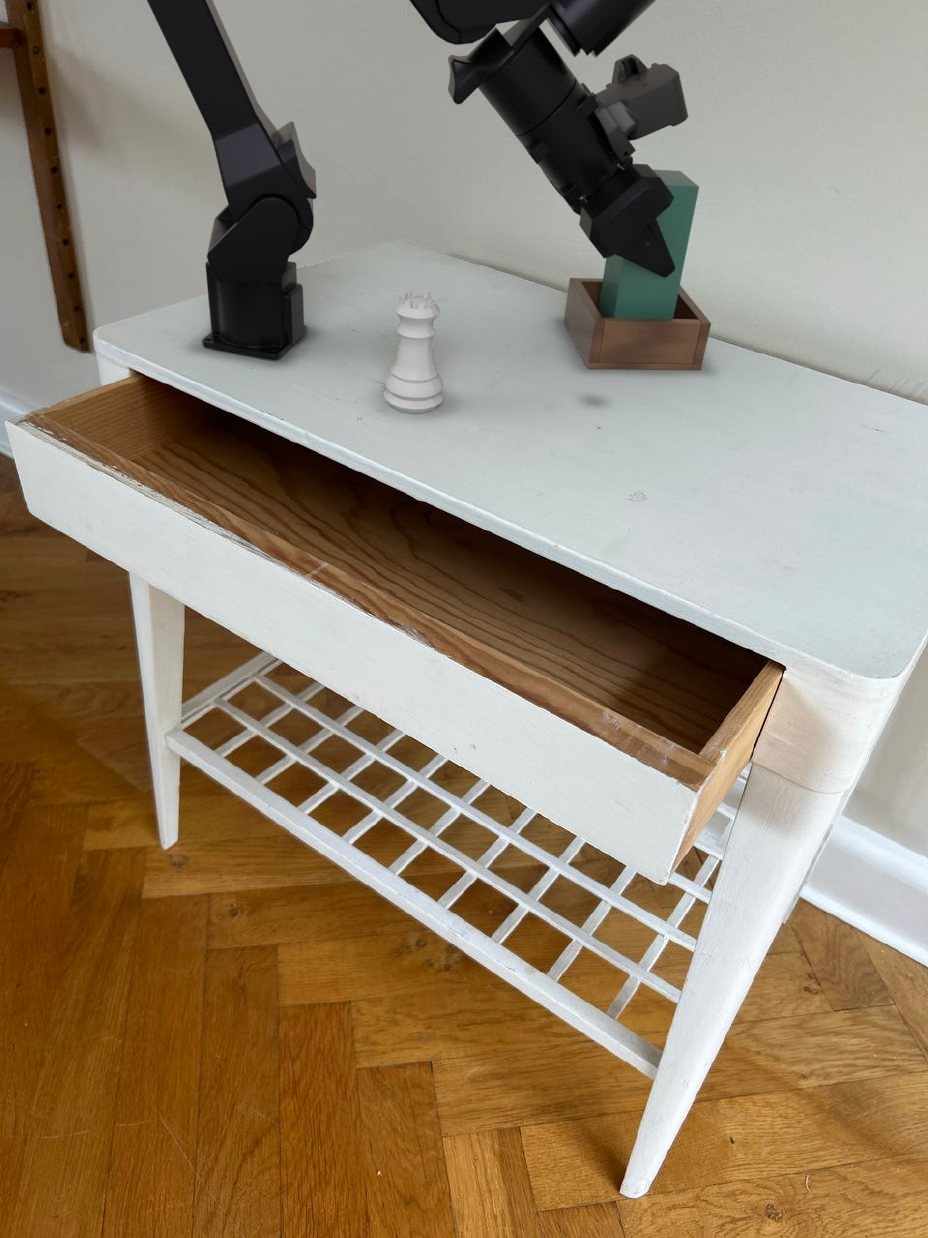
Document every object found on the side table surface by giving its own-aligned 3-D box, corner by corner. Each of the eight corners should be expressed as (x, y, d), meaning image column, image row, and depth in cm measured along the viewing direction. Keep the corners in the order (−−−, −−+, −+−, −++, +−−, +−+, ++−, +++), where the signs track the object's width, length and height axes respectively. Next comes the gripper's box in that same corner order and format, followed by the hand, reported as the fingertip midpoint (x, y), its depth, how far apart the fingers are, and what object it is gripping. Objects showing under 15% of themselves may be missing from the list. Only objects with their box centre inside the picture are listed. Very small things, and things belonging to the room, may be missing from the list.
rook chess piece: (455, 403, 75) (462, 298, 70) (413, 421, 72) (417, 313, 68) (413, 383, 77) (417, 279, 72) (370, 399, 75) (372, 293, 70)
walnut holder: (587, 368, 82) (595, 320, 79) (563, 322, 89) (569, 277, 87) (700, 369, 83) (711, 323, 81) (667, 324, 91) (676, 279, 88)
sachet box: (608, 349, 83) (635, 183, 76) (595, 327, 87) (619, 167, 80) (666, 351, 84) (699, 186, 76) (651, 329, 88) (680, 170, 80)
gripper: (671, 44, 64) (789, 228, 72) (602, 1, 78) (707, 158, 86) (534, 171, 67) (662, 332, 76) (493, 107, 82) (603, 249, 90)
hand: (660, 261), depth 82 cm, fingers closed on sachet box, 5 cm apart
